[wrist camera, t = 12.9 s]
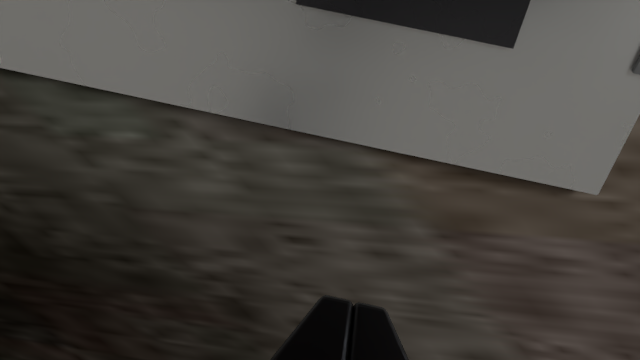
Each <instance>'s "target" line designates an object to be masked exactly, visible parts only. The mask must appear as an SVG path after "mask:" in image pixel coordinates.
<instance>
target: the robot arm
mask: <svg viewBox="0 0 640 360" xmlns="http://www.w3.org/2000/svg"><path fill="white" fill-rule="evenodd" d="M270 360H409V359H408V357H407V355H406V353H405V350H404V348H403V346H402V344H401V341H400V339H399V337H398V335H397V333H396V330H395V328H394V326H393V324H392V321H391V319H390V317H389V315H388V313H387V311H386V310H385V309H384V308H382V307H378V306H374V305H369V304H364V303H356V304H355V305H354V306H353V304H352V302H351V301H349V300H346V299H341V298H337V297H332V296H327V295H325V296H322V297H321V298H320V299H319V300H318V301H317V303H316V304H315V305H314V306H313V308H312V309H311V310H310V311H309V312H308V314H307V315H306V316H305V317H304V319H303V320H302V321H301V322H300V324H299V325H298V326H297V327H296V329H295V330H294V331H293V332H292V334H291V335H290V336H289V337H288V338H287V340H286V341H285V342H284V343H283V345H282V346H281V347H280V348H279V350H278V351H277V352H276V353H275V355H274V356H273V357H272V358H271V359H270Z"/></svg>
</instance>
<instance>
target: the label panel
mask: <svg viewBox="0 0 640 360" xmlns="http://www.w3.org/2000/svg"><path fill="white" fill-rule="evenodd" d="M0 68H3V69H8V70H13V71H17V72H22V73H27V74H32V75H36V76H41V77H46V78H50V79H55V80H60V81H64V82H69V83H74V84H78V85H83V86H88V87H93V88H97V89H102V90H107V91H111V92H116V93H121V94H125V95H130V96H135V97H139V98H144V99H149V100H154V101H158V102H163V103H168V104H172V105H177V106H182V107H186V108H191V109H196V110H200V111H205V112H210V113H215V114H219V115H224V116H229V117H233V118H238V119H243V120H247V121H252V122H257V123H261V124H266V125H271V126H275V127H280V128H285V129H290V130H294V131H299V132H304V133H308V134H313V135H318V136H322V137H327V138H332V139H336V140H341V141H346V142H351V143H355V144H360V145H365V146H369V147H374V148H379V149H383V150H388V151H393V152H397V153H402V154H407V155H412V156H416V157H421V158H426V159H430V160H435V161H440V162H444V163H449V164H454V165H458V166H463V167H468V168H473V169H477V170H482V171H487V172H491V173H496V174H501V175H505V176H510V177H515V178H519V179H524V180H529V181H534V182H538V183H543V184H548V185H552V186H557V187H562V188H566V189H571V190H576V191H580V192H585V193H590V194H595V195H598V194H599V192H600V190H601V188H602V186H603V184H604V182H605V180H606V178H607V176H608V174H609V172H610V170H611V168H612V166H613V165H614V163H615V161H616V159H617V157H618V155H619V153H620V151H621V149H622V147H623V145H624V143H625V141H626V139H627V138H628V136H629V134H630V132H631V130H632V128H633V126H634V124H635V122H636V120H637V118H638V116H639V114H640V0H0Z"/></svg>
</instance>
